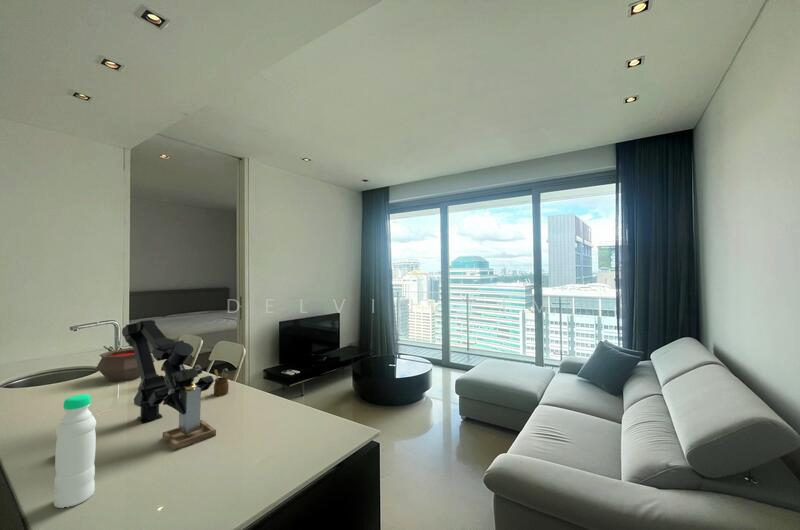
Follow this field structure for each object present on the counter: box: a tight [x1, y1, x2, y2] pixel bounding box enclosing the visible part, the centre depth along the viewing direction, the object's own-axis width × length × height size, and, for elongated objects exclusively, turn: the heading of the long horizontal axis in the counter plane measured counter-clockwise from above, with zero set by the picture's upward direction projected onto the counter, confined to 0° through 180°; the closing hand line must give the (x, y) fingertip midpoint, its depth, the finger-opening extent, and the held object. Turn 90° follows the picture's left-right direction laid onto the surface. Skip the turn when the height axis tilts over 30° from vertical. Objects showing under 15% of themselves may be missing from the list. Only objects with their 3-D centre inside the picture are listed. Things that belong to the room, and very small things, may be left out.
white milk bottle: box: [53, 393, 97, 509], centre depth 79 cm, size 7×7×25 cm
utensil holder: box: [213, 368, 230, 397], centre depth 149 cm, size 6×6×12 cm
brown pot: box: [95, 346, 156, 383], centre depth 172 cm, size 24×24×16 cm
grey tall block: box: [178, 383, 202, 435], centre depth 110 cm, size 4×4×15 cm
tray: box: [162, 419, 217, 452], centre depth 109 cm, size 12×12×2 cm
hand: (192, 411), depth 109 cm, fingers closed on grey tall block, 4 cm apart
